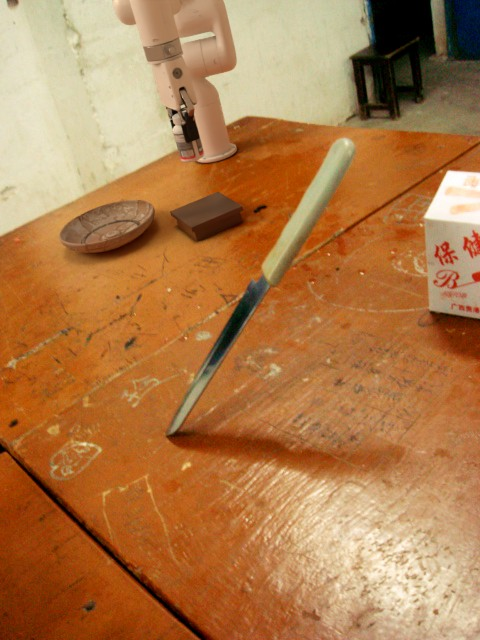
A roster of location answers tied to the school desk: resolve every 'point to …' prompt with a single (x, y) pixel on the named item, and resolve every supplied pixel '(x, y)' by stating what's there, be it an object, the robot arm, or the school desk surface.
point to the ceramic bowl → (107, 226)
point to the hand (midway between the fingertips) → (186, 137)
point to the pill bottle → (186, 150)
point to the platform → (208, 215)
